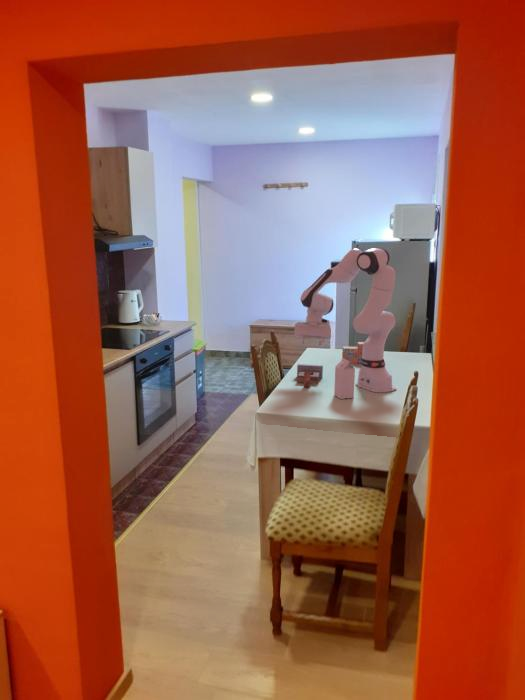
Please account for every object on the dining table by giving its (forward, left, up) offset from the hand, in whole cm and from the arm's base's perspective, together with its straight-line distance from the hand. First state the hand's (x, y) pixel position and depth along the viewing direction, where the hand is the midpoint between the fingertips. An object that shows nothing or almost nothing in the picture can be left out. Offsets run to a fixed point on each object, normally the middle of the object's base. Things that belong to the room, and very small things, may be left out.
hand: (311, 344), depth 311 cm
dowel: (-14, +9, -20) cm, 25 cm away
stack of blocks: (+25, -46, -20) cm, 56 cm away
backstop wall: (+3, -1, -20) cm, 20 cm away
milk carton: (-35, -1, -20) cm, 41 cm away
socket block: (-3, +3, -20) cm, 21 cm away
